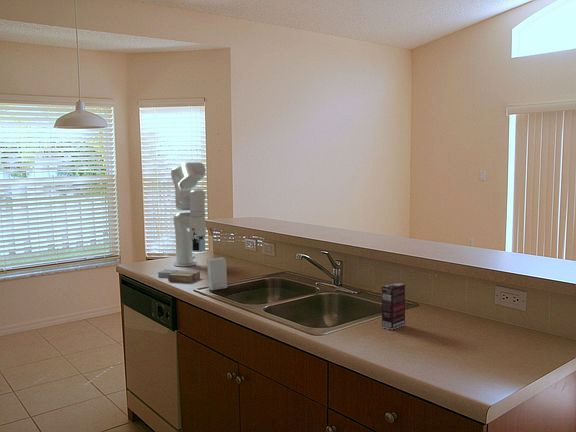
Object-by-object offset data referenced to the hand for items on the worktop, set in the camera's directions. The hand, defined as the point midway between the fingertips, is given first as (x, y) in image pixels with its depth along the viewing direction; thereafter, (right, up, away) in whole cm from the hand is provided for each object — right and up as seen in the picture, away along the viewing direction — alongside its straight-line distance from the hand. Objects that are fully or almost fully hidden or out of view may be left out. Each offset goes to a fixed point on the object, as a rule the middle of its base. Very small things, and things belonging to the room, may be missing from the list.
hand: (198, 249), depth 271 cm
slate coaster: (-19, -16, +16) cm, 30 cm away
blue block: (0, -1, 0) cm, 1 cm away
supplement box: (+85, -24, -76) cm, 116 cm away
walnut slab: (-9, -17, +6) cm, 20 cm away
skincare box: (+11, -19, -13) cm, 25 cm away
